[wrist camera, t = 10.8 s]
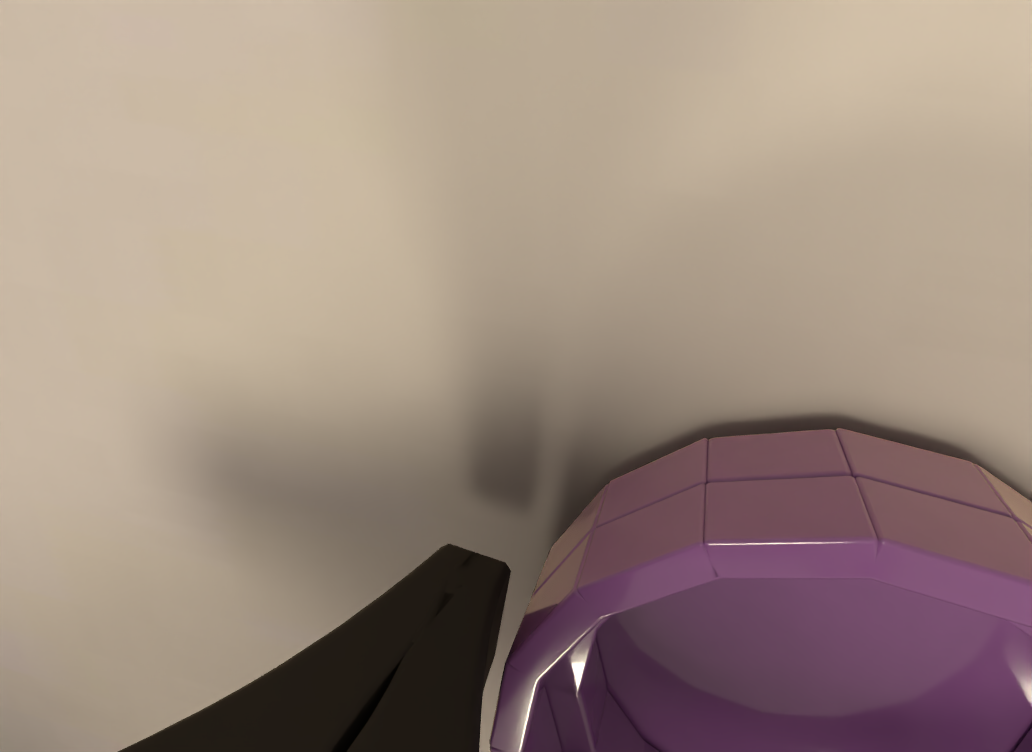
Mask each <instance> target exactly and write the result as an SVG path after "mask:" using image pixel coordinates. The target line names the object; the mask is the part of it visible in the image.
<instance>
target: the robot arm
mask: <svg viewBox="0 0 1032 752" xmlns="http://www.w3.org/2000/svg"><path fill="white" fill-rule="evenodd" d="M510 573H511V570H510V569H509V567H508V566H507V564H506V563H505V562H502V561H499V560H496V559H493V558H490V557H487V556H484V555H481V554H478V553H475V552H472V551H469V550H466V549H463V548H460V547H457V546H454V545H451V544H447V545H445V546H443V547H441V548H440V549H439V550H437V551H436V552H435V553H434V554H433V555H432V556H430V557H429V558H428V559H427V560H426V561H424V562H423V563H422V564H421V565H420V566H418V567H417V568H416V569H415V570H413V571H412V572H411V573H410V574H408V575H407V576H406V577H405V578H403V579H402V580H401V581H400V582H398V583H397V584H396V585H394V586H393V587H392V588H391V589H389V590H388V591H387V592H385V593H384V594H383V595H381V596H380V597H379V598H377V599H376V600H375V601H373V602H372V603H371V604H369V605H368V606H366V607H365V608H364V609H362V610H361V611H360V612H358V613H357V614H355V615H354V616H353V617H351V618H350V619H349V620H347V621H346V622H344V623H343V624H342V625H340V626H339V627H337V628H336V629H334V630H333V631H332V632H330V633H328V634H327V635H325V636H324V637H322V638H321V639H319V640H318V641H316V642H315V643H313V644H312V645H310V646H309V647H307V648H306V649H304V650H303V651H301V652H299V653H298V654H296V655H295V656H293V657H292V658H290V659H289V660H287V661H286V662H284V663H283V664H281V665H279V666H278V667H276V668H274V669H273V670H271V671H269V672H268V673H266V674H264V675H263V676H261V677H260V678H258V679H256V680H254V681H253V682H251V683H249V684H248V685H246V686H244V687H242V688H241V689H239V690H237V691H235V692H233V693H232V694H230V695H228V696H226V697H224V698H223V699H221V700H219V701H217V702H215V703H214V704H212V705H210V706H208V707H206V708H204V709H203V710H201V711H199V712H197V713H195V714H193V715H191V716H189V717H187V718H185V719H183V720H181V721H179V722H177V723H175V724H173V725H171V726H169V727H167V728H165V729H163V730H161V731H159V732H157V733H155V734H153V735H151V736H150V737H148V738H146V739H143V740H141V741H139V742H137V743H135V744H133V745H131V746H129V747H127V748H125V749H122V750H120V751H118V752H479V742H480V723H481V708H482V696H483V690H484V686H485V683H486V680H487V677H488V674H489V671H490V668H491V665H492V662H493V659H494V656H495V651H496V646H497V640H498V635H499V630H500V625H501V620H502V614H503V609H504V604H505V599H506V594H507V588H508V583H509V578H510Z"/></svg>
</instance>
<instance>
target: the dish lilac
mask: <svg viewBox="0 0 1032 752" xmlns="http://www.w3.org/2000/svg"><path fill="white" fill-rule="evenodd" d="M489 741H490V751H491V752H1032V502H1031V501H1030V500H1028V499H1027V498H1025V497H1024V496H1022V495H1021V494H1019V493H1018V492H1017V491H1015V490H1014V489H1012V488H1011V487H1009V486H1008V485H1006V484H1005V483H1004V482H1002V481H1001V480H999V479H998V478H996V477H995V476H993V475H992V474H991V473H989V472H988V471H986V470H985V469H983V468H982V467H980V466H979V465H977V464H973V463H972V462H971V461H967V460H963V459H959V458H955V457H951V456H947V455H943V454H940V453H936V452H932V451H928V450H924V449H920V448H916V447H912V446H908V445H905V444H901V443H897V442H893V441H889V440H885V439H881V438H877V437H873V436H870V435H866V434H862V433H858V432H854V431H850V430H846V429H842V428H837V429H836V431H835V430H832V429H821V430H807V431H793V432H780V433H766V434H752V435H739V436H725V437H713V438H711V439H709V440H708V439H707V438H703V439H701V440H699V441H696V442H694V443H692V444H690V445H688V446H685V447H683V448H681V449H679V450H677V451H675V452H672V453H670V454H668V455H666V456H664V457H661V458H659V459H657V460H655V461H653V462H650V463H648V464H646V465H644V466H642V467H639V468H637V469H635V470H633V471H631V472H628V473H626V474H624V475H622V476H620V477H617V478H615V479H613V480H611V481H610V482H609V484H607V485H605V486H604V487H603V488H602V489H601V491H600V492H599V493H598V494H597V495H596V496H595V498H594V499H593V500H592V501H591V502H590V503H589V504H588V506H587V507H586V508H585V509H584V510H583V511H582V513H581V514H580V515H579V516H578V517H577V518H576V519H575V521H574V522H573V523H572V524H571V525H570V526H569V528H568V529H567V530H566V531H565V532H564V533H563V534H562V536H561V537H560V538H559V539H558V540H557V541H556V542H555V544H554V545H553V546H552V549H551V550H550V551H549V554H548V556H547V559H546V562H545V564H544V567H543V569H542V572H541V574H540V577H539V579H538V582H537V584H536V587H535V589H534V592H533V594H532V597H531V600H530V603H529V604H528V607H527V610H526V612H525V615H524V617H523V620H522V622H521V625H520V627H519V630H518V632H517V635H516V637H515V640H514V642H513V645H512V647H511V650H510V652H509V655H508V657H507V660H506V662H505V666H504V671H503V676H502V681H501V686H500V691H499V696H498V701H497V706H496V711H495V716H494V721H493V726H492V730H491V735H490V740H489Z"/></svg>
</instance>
